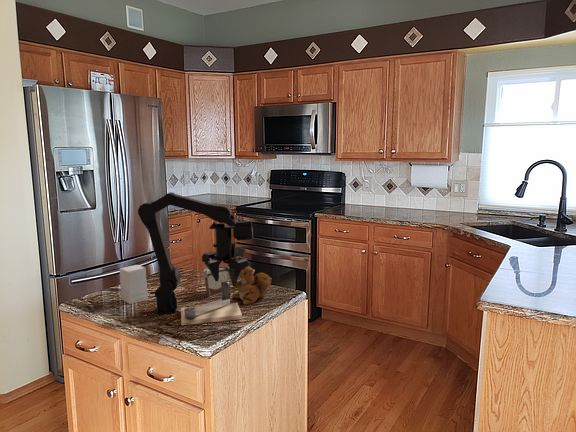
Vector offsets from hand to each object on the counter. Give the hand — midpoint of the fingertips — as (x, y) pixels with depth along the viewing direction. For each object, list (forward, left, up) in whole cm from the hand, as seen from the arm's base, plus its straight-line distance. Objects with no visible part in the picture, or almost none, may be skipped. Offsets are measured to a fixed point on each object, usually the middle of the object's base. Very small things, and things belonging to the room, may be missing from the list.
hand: (225, 283), depth 159 cm
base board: (-6, -5, -9) cm, 12 cm away
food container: (-3, +19, -10) cm, 22 cm away
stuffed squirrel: (+11, +8, -10) cm, 17 cm away
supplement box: (-33, +19, -10) cm, 39 cm away
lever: (-7, -5, -8) cm, 11 cm away
